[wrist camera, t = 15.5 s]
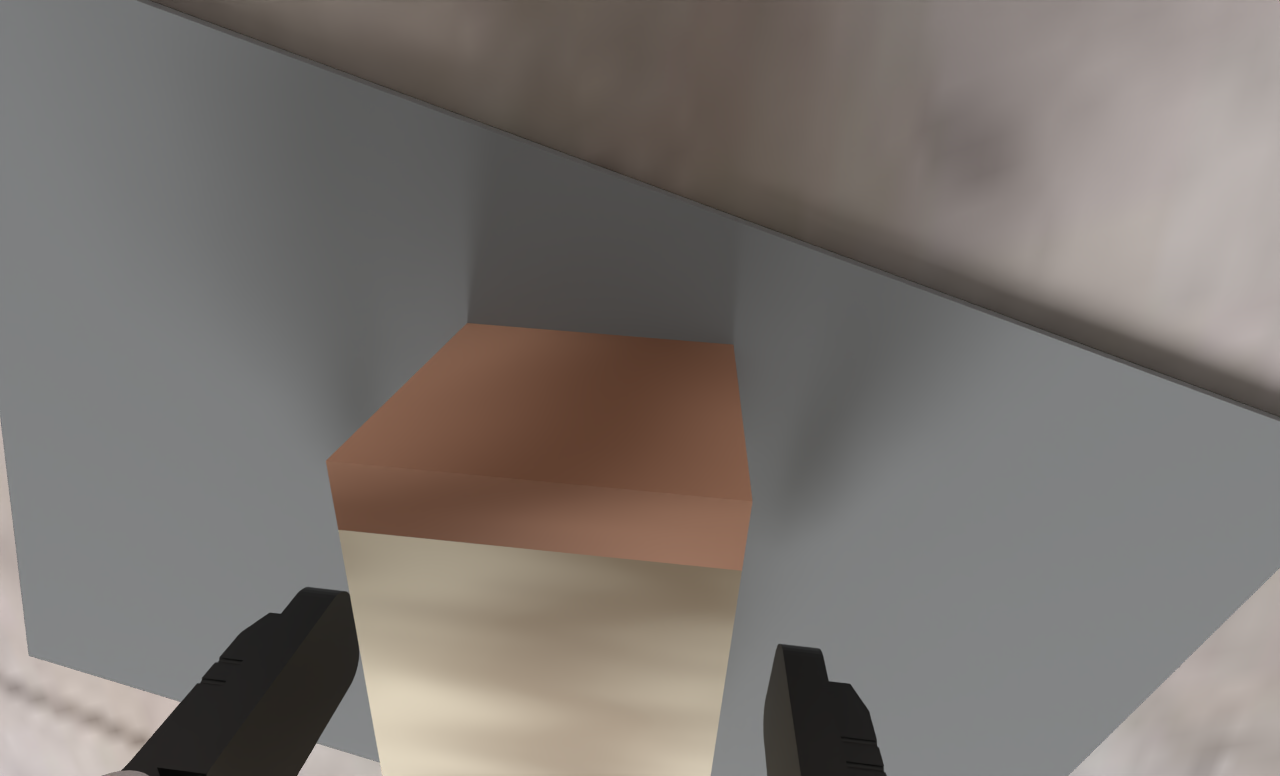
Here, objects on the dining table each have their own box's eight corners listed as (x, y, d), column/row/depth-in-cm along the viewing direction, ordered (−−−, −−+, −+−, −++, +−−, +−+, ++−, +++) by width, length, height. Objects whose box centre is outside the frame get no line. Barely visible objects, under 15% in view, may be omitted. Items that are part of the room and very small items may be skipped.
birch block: (419, 983, 13) (326, 460, 8) (494, 748, 17) (467, 323, 12) (673, 1019, 12) (752, 501, 7) (681, 771, 17) (733, 344, 12)
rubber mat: (46, 641, 18) (28, 655, 17) (-26, -64, 11) (-58, -72, 10) (910, 905, 19) (915, 925, 19) (1362, 447, 12) (1387, 461, 12)
